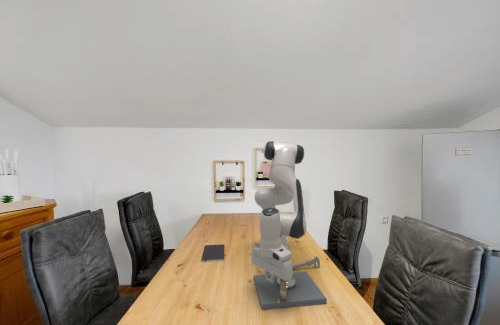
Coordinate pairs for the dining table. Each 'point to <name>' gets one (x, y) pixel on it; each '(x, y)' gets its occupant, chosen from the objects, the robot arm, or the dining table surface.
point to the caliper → (308, 263)
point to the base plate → (288, 292)
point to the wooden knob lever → (285, 286)
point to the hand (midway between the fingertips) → (270, 281)
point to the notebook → (213, 253)
